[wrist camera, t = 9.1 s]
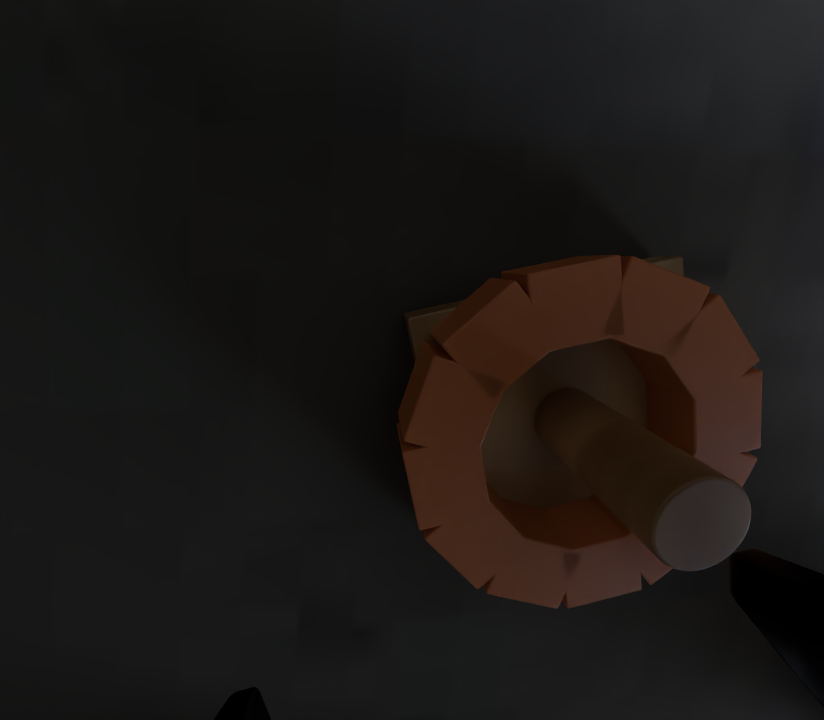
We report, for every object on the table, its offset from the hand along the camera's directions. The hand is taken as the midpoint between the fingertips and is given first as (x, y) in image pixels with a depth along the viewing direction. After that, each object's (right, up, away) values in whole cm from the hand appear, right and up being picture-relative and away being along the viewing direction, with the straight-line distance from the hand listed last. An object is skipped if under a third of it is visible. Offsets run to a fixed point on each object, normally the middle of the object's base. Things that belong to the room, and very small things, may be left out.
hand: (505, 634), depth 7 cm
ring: (+4, +3, +8) cm, 9 cm away
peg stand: (+4, +3, +9) cm, 11 cm away
